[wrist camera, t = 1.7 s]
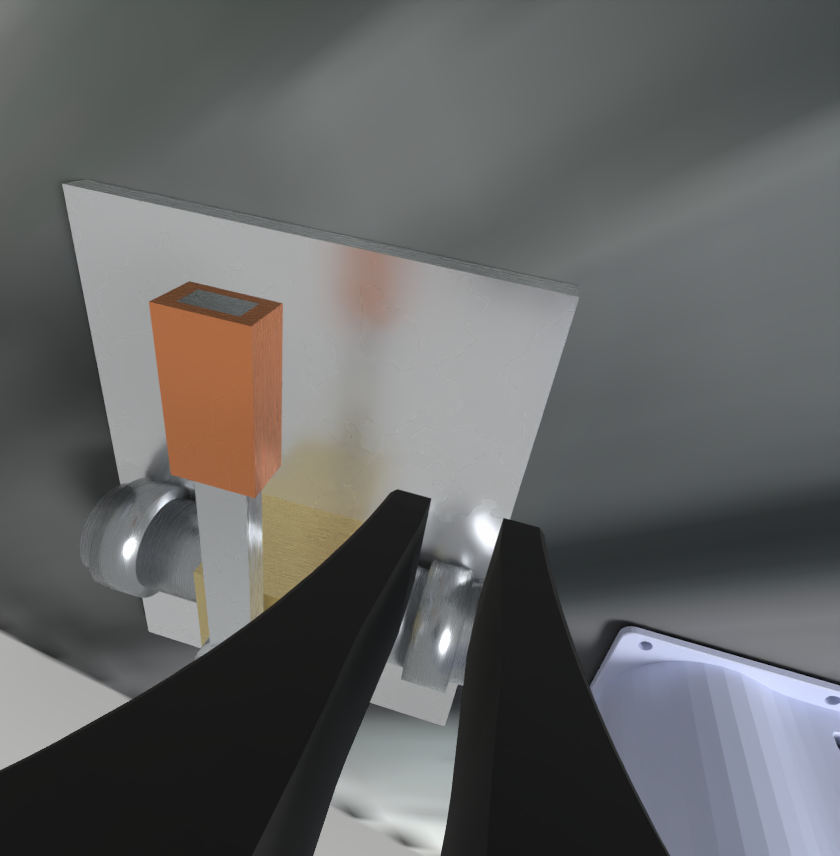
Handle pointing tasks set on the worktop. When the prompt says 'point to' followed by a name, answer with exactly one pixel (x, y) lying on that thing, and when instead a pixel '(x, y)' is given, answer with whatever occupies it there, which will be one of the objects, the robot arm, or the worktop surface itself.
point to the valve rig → (322, 411)
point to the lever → (223, 432)
